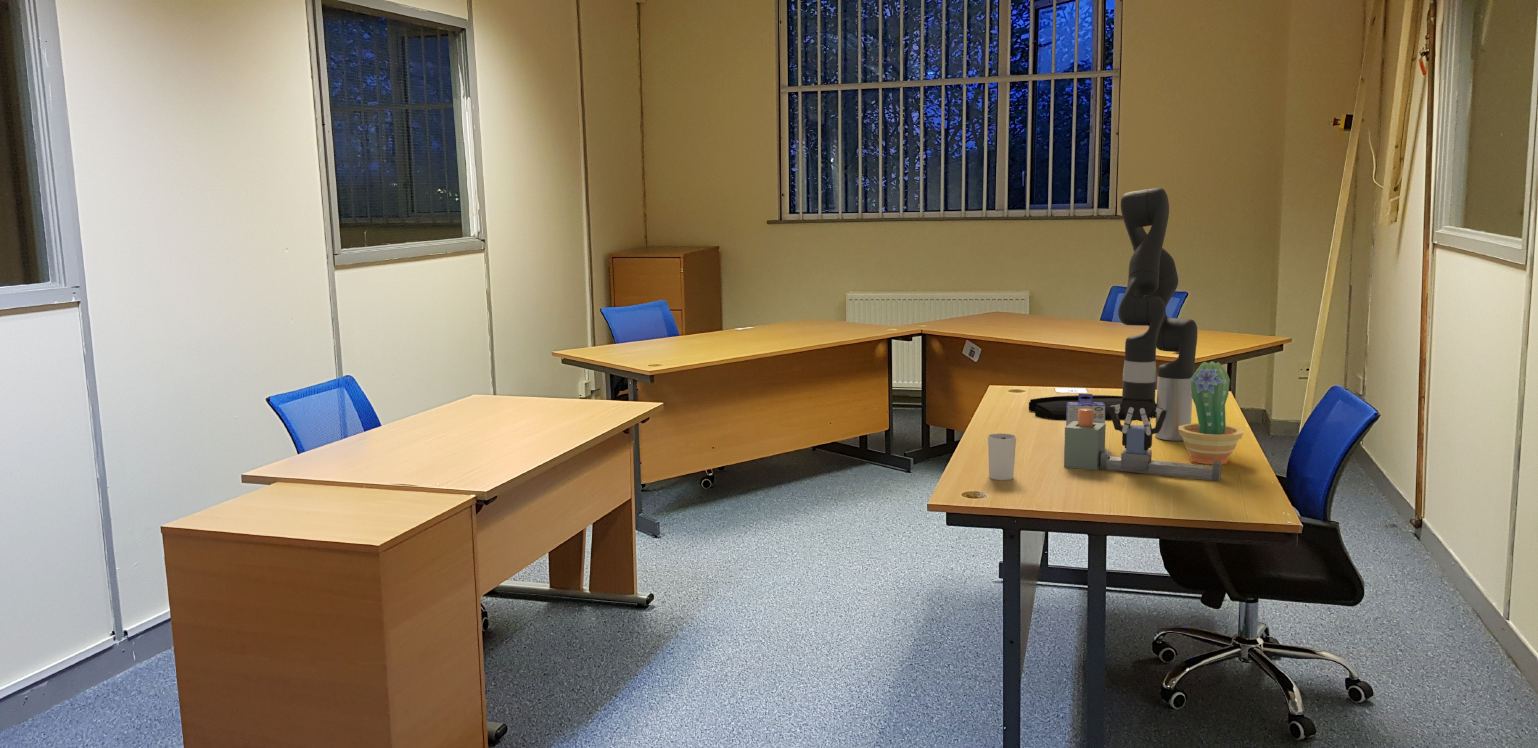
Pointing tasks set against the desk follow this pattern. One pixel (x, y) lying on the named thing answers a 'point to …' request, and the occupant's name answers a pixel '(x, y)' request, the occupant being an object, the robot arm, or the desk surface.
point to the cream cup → (1001, 455)
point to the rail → (1166, 468)
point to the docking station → (1058, 404)
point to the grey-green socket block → (1084, 445)
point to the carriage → (1135, 450)
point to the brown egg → (1085, 418)
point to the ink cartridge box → (1085, 404)
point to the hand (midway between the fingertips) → (1136, 448)
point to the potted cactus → (1210, 417)
